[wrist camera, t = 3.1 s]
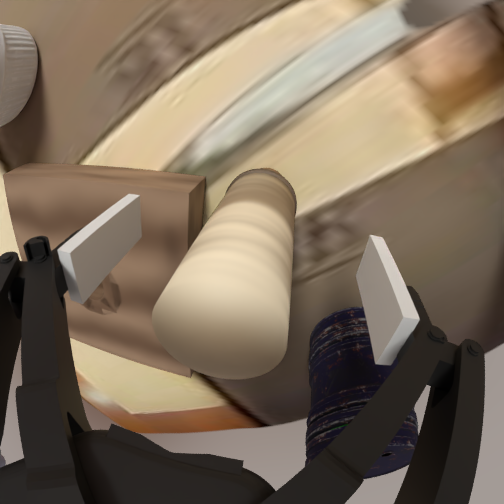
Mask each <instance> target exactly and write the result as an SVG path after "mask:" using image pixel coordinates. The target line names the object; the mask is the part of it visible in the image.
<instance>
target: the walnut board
mask: <svg viewBox="0 0 504 504" xmlns="http://www.w3.org/2000/svg"><path fill="white" fill-rule="evenodd" d="M3 179H4V185H5V191H6V197H7V202H8V207H9V212H10V216H11V221H12V225H13V229H14V233H15V237H16V241H17V245H18V248H19V252H20V255H21V258H22V261H27V258H26V254H25V251H24V247H23V245H24V244H25V242H26V241H28V240H29V239H31V238H33V237H36V236H46V237H48V239H49V243H50V248H51V251H52V250H53V249H55V248H56V247H57V246H58V245H59V244H60V243H62V242H63V241H64V240H65V239H66V238H68V237H69V236H70V235H71V234H73V233H74V232H75V231H77V230H79V229H81V228H83V227H85V226H87V225H88V224H89V223H91V222H92V221H93V220H94V219H96V218H97V217H98V216H100V215H101V214H102V213H103V212H105V211H106V210H107V209H109V208H110V207H111V206H113V205H114V204H115V203H117V202H118V201H120V200H121V199H122V198H124V197H125V196H126V195H128V194H135V195H140V210H141V230H142V237H141V238H140V239H139V241H138V242H137V243H136V244H135V245H134V246H133V247H132V248H131V249H130V250H129V251H128V253H127V254H126V255H125V256H124V257H123V258H122V259H121V260H120V261H119V263H118V264H117V265H116V266H115V267H114V268H113V269H112V270H111V272H110V273H109V274H108V275H107V276H106V277H105V279H104V280H103V281H102V282H101V283H100V284H99V286H98V287H97V288H96V289H95V290H94V292H93V293H92V294H91V295H90V296H89V298H88V299H87V300H86V301H85V302H84V304H81V303H78V302H75V301H72V300H71V299H70V295H69V292H68V291H67V292H66V293H65V294H64V298H65V302H66V312H67V321H68V329H69V337H70V338H73V339H75V340H77V341H80V342H82V343H85V344H87V345H90V346H92V347H95V348H98V349H100V350H103V351H106V352H108V353H111V354H114V355H117V356H120V357H123V358H126V359H129V360H132V361H135V362H138V363H141V364H144V365H147V366H150V367H154V368H157V369H160V370H164V371H167V372H171V373H175V374H178V375H182V376H186V377H190V378H191V376H192V373H193V369H191V368H189V367H187V366H185V365H184V364H182V363H180V362H179V361H178V360H176V359H175V358H174V357H173V356H171V355H170V354H169V353H168V352H167V351H166V350H165V348H164V347H163V346H162V345H161V343H160V342H159V340H158V338H157V337H156V334H155V332H154V329H153V325H152V312H153V309H154V306H155V304H156V302H157V301H158V299H159V297H160V296H161V294H162V292H163V291H164V289H165V287H166V286H167V284H168V283H169V281H170V279H171V278H172V276H173V274H174V273H175V271H176V270H177V268H178V266H179V265H180V263H181V262H182V260H183V258H184V257H185V255H186V254H187V252H188V250H189V249H190V247H191V246H192V244H193V243H194V241H195V240H196V238H197V236H198V235H199V233H200V232H201V230H202V226H203V208H204V192H205V177H204V176H196V175H188V174H180V173H171V172H162V171H153V170H143V169H132V168H120V167H108V166H93V165H76V164H52V163H26V164H24V165H22V166H20V167H18V168H16V169H14V170H11V171H9V172H7V173H5V174H4V175H3Z"/></svg>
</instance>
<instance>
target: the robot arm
mask: <svg viewBox="0 0 504 504" xmlns="http://www.w3.org/2000/svg"><path fill="white" fill-rule="evenodd" d="M141 237H142V230H141V210H140V195H135V194H128V195H126V196H125V197H124V198H122V199H121V200H120V201H118V202H117V203H115V204H114V205H113V206H111V207H110V208H109V209H107V210H106V211H105V212H103V213H102V214H101V215H100V216H98V217H97V218H96V219H94V220H93V221H92V222H91V223H89V224H88V225H87V226H85V227H83V228H81V229H79V230H77V231H75V232H74V233H73V234H71V235H70V236H69V237H68V238H66V239H65V240H64V241H63V242H62V243H60V244H59V245H58V246H57V247H56V248H55V249H53V250H52V251H51V248H50V243H49V239H48V237H46V236H36V237H33V238H31V239H29V240H28V241H26V242H25V244H24V245H23V247H24V251H25V254H26V258H27V261H20V260H19V257H18V254H17V253H16V252H6V253H4V254H2V255H1V256H0V445H1V441H2V436H3V431H4V425H5V417H6V409H7V402H8V395H9V390H10V384H11V379H12V374H13V369H14V364H15V360H16V356H17V352H18V348H19V344H20V340H21V363H22V386H18V387H17V388H16V404H17V414H18V423H19V430H20V437H21V442H22V448H23V454H24V458H23V459H21V460H18V461H16V462H13V463H11V464H8V465H6V466H5V459H4V457H3V456H2V455H1V450H0V504H345V502H346V501H347V500H348V499H349V498H350V497H351V496H352V495H353V494H354V493H355V492H356V490H357V489H358V488H359V487H360V485H361V484H362V482H363V481H364V480H363V477H364V476H365V474H366V473H367V472H368V470H369V469H370V468H371V467H372V466H373V464H374V463H375V462H376V460H377V459H378V458H379V457H380V455H381V454H382V453H383V451H384V450H385V449H386V447H387V446H388V445H389V443H390V442H391V440H392V439H393V438H394V436H395V435H396V433H397V432H398V430H399V429H400V427H401V426H402V424H403V423H404V421H405V420H406V418H407V417H408V415H409V413H410V412H411V410H412V409H413V407H414V405H415V404H416V402H417V400H418V399H419V397H420V395H421V394H422V392H423V390H424V388H425V387H426V385H429V386H431V388H430V393H429V397H428V402H427V406H426V410H425V415H424V419H423V422H422V426H421V430H420V433H419V436H418V440H417V443H416V446H415V450H414V453H413V456H412V459H411V462H410V464H409V467H408V470H407V473H406V476H405V478H404V481H403V483H402V486H401V488H400V491H399V493H398V495H397V498H396V500H395V503H394V504H468V503H469V500H470V496H471V492H472V487H473V483H474V478H475V474H476V468H477V463H478V457H479V450H480V443H481V435H482V426H483V413H484V395H485V360H484V352H483V349H482V348H481V346H480V345H479V344H478V343H477V342H475V341H473V340H470V339H465V340H464V341H463V342H462V343H461V345H460V346H457V345H455V344H452V343H449V342H447V341H448V340H447V337H446V335H445V334H444V332H443V331H442V330H441V329H439V328H438V327H436V326H433V325H432V324H431V321H430V319H429V317H428V314H427V312H426V310H425V308H424V305H423V303H422V302H421V299H420V297H419V295H418V293H417V292H416V291H415V290H414V289H413V287H412V286H406V285H405V283H404V281H403V279H402V276H401V274H400V272H399V270H398V268H397V266H396V264H395V262H394V260H393V257H392V255H391V253H390V251H389V249H388V247H387V245H386V243H385V241H384V240H383V238H382V237H378V236H373V235H370V237H369V240H368V243H367V246H366V249H365V251H364V254H363V257H362V260H361V263H360V265H359V268H358V271H357V274H356V279H357V283H358V287H359V291H360V295H361V299H362V303H363V307H364V312H365V316H366V320H367V325H368V330H369V334H370V339H371V344H372V349H373V354H374V360H375V364H379V365H391V364H392V363H393V361H394V360H395V358H396V357H397V359H398V364H397V366H396V367H395V369H394V370H393V371H392V373H391V374H390V375H389V377H388V378H387V379H386V380H385V382H384V383H383V384H382V386H381V387H380V388H379V389H378V391H377V392H376V393H375V394H374V395H373V397H372V398H371V399H370V400H369V401H368V403H367V404H366V405H365V406H364V407H363V409H362V410H361V411H360V412H359V413H358V414H357V415H356V417H355V418H354V419H353V420H352V421H351V422H350V423H349V424H348V425H347V426H346V427H345V429H344V430H343V431H342V432H341V433H340V434H339V435H338V436H337V437H336V438H335V439H334V440H333V441H332V442H331V443H330V444H329V445H328V446H327V447H326V448H325V449H324V450H323V451H322V452H321V453H319V454H318V455H317V456H316V457H315V458H314V459H313V460H312V461H311V462H310V463H309V464H308V465H307V466H305V467H304V468H303V469H302V470H301V471H300V472H299V473H298V474H296V475H295V476H294V477H293V478H292V479H291V480H289V481H288V482H287V483H286V484H285V485H283V486H282V487H281V488H280V489H278V490H277V491H275V489H274V488H273V487H272V486H271V485H270V484H269V483H268V482H267V481H265V480H264V479H263V478H262V477H260V476H259V475H257V474H255V473H254V472H252V471H250V470H247V469H245V468H243V467H242V466H243V461H242V460H236V459H231V458H226V457H221V456H216V455H211V454H185V453H172V452H169V451H167V450H166V449H164V448H162V447H161V446H159V445H157V444H155V443H154V442H152V441H150V440H149V439H147V438H146V437H144V436H142V435H141V434H138V433H135V432H132V431H130V430H127V429H124V428H122V427H119V426H117V425H114V424H111V426H110V429H109V430H92V429H91V427H90V425H89V423H88V420H87V418H86V414H85V410H84V407H83V403H82V399H81V395H80V390H79V386H78V381H77V377H76V372H75V367H74V361H73V356H72V350H71V343H70V337H69V329H68V321H67V312H66V302H65V298H64V294H65V293H66V292H67V291H68V292H69V295H70V299H71V300H72V301H75V302H78V303H81V304H84V302H85V301H86V300H87V299H88V298H89V296H90V295H91V294H92V293H93V292H94V290H95V289H96V288H97V287H98V286H99V284H100V283H101V282H102V281H103V280H104V279H105V277H106V276H107V275H108V274H109V273H110V272H111V270H112V269H113V268H114V267H115V266H116V265H117V264H118V263H119V261H120V260H121V259H122V258H123V257H124V256H125V255H126V254H127V253H128V251H129V250H130V249H131V248H132V247H133V246H134V245H135V244H136V243H137V242H138V241H139V239H140V238H141ZM8 297H9V298H8Z"/></svg>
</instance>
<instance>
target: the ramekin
mask: <svg viewBox="0 0 504 504" xmlns="http://www.w3.org/2000/svg"><path fill="white" fill-rule="evenodd" d="M37 67H38V54H37V47H36V44H35V41H34V39H33V37H32V36H31V34H30V33H29V32H28V31H27V30H25V29H24V28H21V27H17V26H11V25H3V24H0V127H1V126H3V125H5V124H7V123H8V122H10V121H12V120H13V119H14V118H15V117H16V116H18V114H19V113H20V112H21V111H22V109H23V108H24V106H25V105H26V103H27V101H28V99H29V97H30V95H31V93H32V90H33V87H34V84H35V80H36V74H37Z"/></svg>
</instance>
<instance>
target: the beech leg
mask: <svg viewBox="0 0 504 504" xmlns="http://www.w3.org/2000/svg"><path fill="white" fill-rule="evenodd" d="M296 208H297V201H296V195H295V192H294V190H293V188H292V186H291V185H290V183H289V182H288V181H287V180H286V179H285V178H284V177H283V176H282V175H281V174H280V173H279V172H277V171H276V170H274V169H271V168H261V169H252V170H249V171H246V172H244V173H242V174H240V175H239V176H237V177H236V178H235V179H234V180H233V181H232V183H231V184H230V186H229V187H228V189H227V191H226V194H225V196H224V197H223V199H222V200H221V202H220V203H219V205H218V206H217V208H216V209H215V211H214V212H213V214H212V215H211V217H210V218H209V220H208V221H207V223H206V224H205V226H204V227H203V229H202V230H201V232H200V233H199V235H198V236H197V238H196V240H195V241H194V243H193V244H192V246H191V247H190V249H189V250H188V252H187V254H186V255H185V257H184V258H183V260H182V262H181V263H180V265H179V266H178V268H177V270H176V271H175V273H174V274H173V276H172V278H171V279H170V281H169V283H168V284H167V286H166V287H165V289H164V291H163V292H162V294H161V296H160V297H159V299H158V301H157V302H156V304H155V306H154V309H153V312H152V325H153V329H154V332H155V334H156V337H157V338H158V340H159V342H160V343H161V345H162V346H163V347H164V348H165V350H166V351H167V352H168V353H169V354H170V355H171V356H173V357H174V358H175V359H176V360H178V361H179V362H180V363H182V364H184V365H185V366H187V367H189V368H191V369H193V370H195V371H197V372H199V373H202V374H205V375H208V376H212V377H217V378H222V379H248V378H253V377H257V376H260V375H263V374H265V373H267V372H269V371H271V370H272V369H273V368H275V367H276V366H277V365H278V364H279V363H280V362H281V360H282V359H283V357H284V355H285V353H286V349H287V341H288V328H289V315H290V300H291V284H292V266H293V246H294V222H295V214H296Z"/></svg>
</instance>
